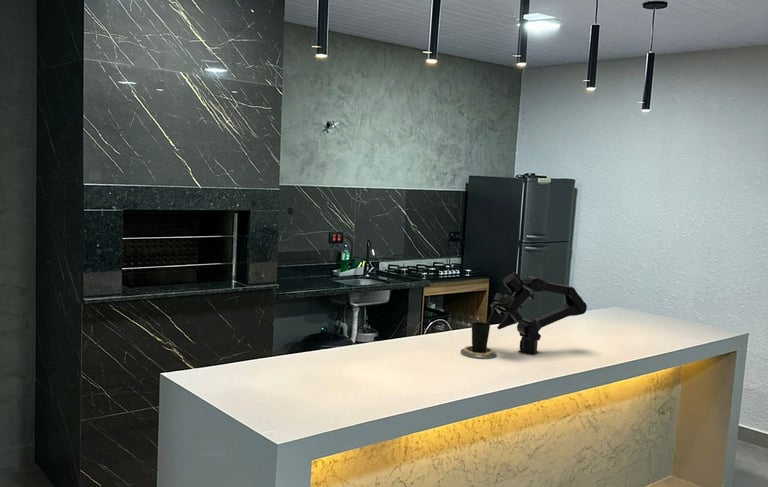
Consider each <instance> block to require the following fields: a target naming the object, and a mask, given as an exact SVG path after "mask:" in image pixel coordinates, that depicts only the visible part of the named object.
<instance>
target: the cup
mask: <svg viewBox="0 0 768 487" xmlns="http://www.w3.org/2000/svg"><path fill="white" fill-rule="evenodd" d="M490 328H491V324H488V323H487V322H480V321H476V322H475V321H474V322H471V346H472V351H473V352H480V353H486V348H488V347H487V346H488V341H489V336H490V331H491V330H490Z"/></svg>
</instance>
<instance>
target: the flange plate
mask: <svg viewBox="0 0 768 487" xmlns="http://www.w3.org/2000/svg"><path fill="white" fill-rule="evenodd" d="M460 354H461V355H462V356H463V357H466V358H472V359H478V360H492V359H495V358H497V352H496V351H494V349H492V348H490V347H487V348H486V353H480V352H473V351H472V345H469V346H465V347H463V348H462V349H460Z"/></svg>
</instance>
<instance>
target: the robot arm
mask: <svg viewBox="0 0 768 487" xmlns="http://www.w3.org/2000/svg"><path fill="white" fill-rule="evenodd" d="M502 284H504V286H505V287H506V288H507V289H508V291H509V292H511V293H513V294H512V295H509V294H501V293H499V292H496V294H495V295H494V298H493V300H494V301H492V303H490V308H491V312H490V315H489V317H488V319H487V321H486V323H488V324H490V325H491V324H492V323H494V322H496V321H498V320H499V319H501V318H502V317H503V316H504V317H503V319H502V320H501V322H500V323H499V324H498V326H497V327H496V328H497V330H501V329H504V328H507V327H509V326H512V325H516V329H517V332H518V333H519V336H520V337H521V339H520V341H519V350H518V353H522V354H527V355H535V354H538V353H539V351H538V342H539V341H540V339H541V338H542V335H541V334H540V333H539V332H540V331H541V329H542V328H544V327H546V326H549V325H551V324H553V323H556V322H558V321H560V320H562V319H566V318H568V317H574V316H575V317H576V316H580V315H584V314H585V313H587V312H586V311H587V310H588V309H587V308H588V305H587V303H586V302H585V301H584V299H583V297H581V296H580V294H579V293H578V292H577V290H576V288H575V287H573V286H569V285H562V284H558V283H553V282H547V281H545V280H543V279H540V278H537V277H535V276H531V275H529V276H526V277H525V278H524V279H523V278H522V279H521V278H520V276H519V274H518V273H517V272H514V271H513V272H512V273H510V274H507V276H505V277H504V278H503V279H502ZM531 291H532V292H531ZM533 292H550V293H556V294H561V295H564V300H565V303H564V304H563V305H562V306H561V307H558V308H557V309H555V310H552V311H549V312H547V313H545V314H543V315H541V316H539V317H533V316H530V315H527V316H526V317H524V318H523V316H522V314H521V313H520V312H519V311H518V310H519V309H520V310H522V309H523V305H524V304H525V303H526V302H527V300H531V301H534V300H535V297H534V296H535V293H533Z"/></svg>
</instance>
